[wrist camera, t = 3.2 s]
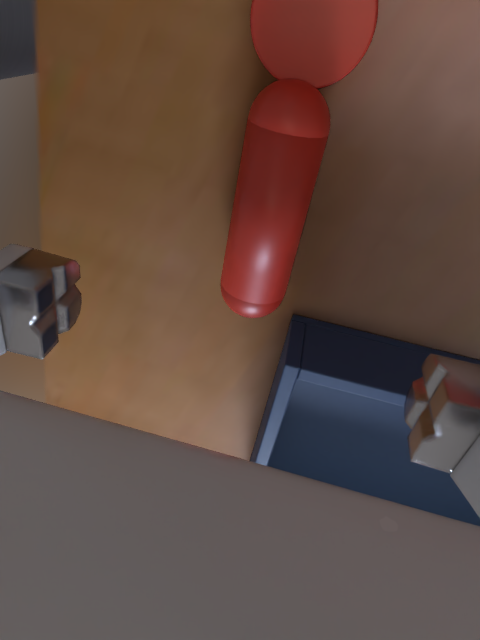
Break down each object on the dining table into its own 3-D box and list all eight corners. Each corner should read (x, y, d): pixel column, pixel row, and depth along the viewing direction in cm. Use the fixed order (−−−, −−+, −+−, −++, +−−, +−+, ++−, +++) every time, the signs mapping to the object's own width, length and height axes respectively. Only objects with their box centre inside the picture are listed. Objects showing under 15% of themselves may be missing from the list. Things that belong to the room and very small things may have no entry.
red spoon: (212, 285, 19) (197, 318, 17) (268, -71, 12) (253, -88, 10) (293, 305, 19) (286, 341, 17) (394, -45, 12) (406, -58, 10)
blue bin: (247, 467, 26) (236, 522, 23) (293, 313, 19) (284, 364, 17) (490, 532, 25) (509, 598, 22) (621, 395, 19) (672, 463, 16)
